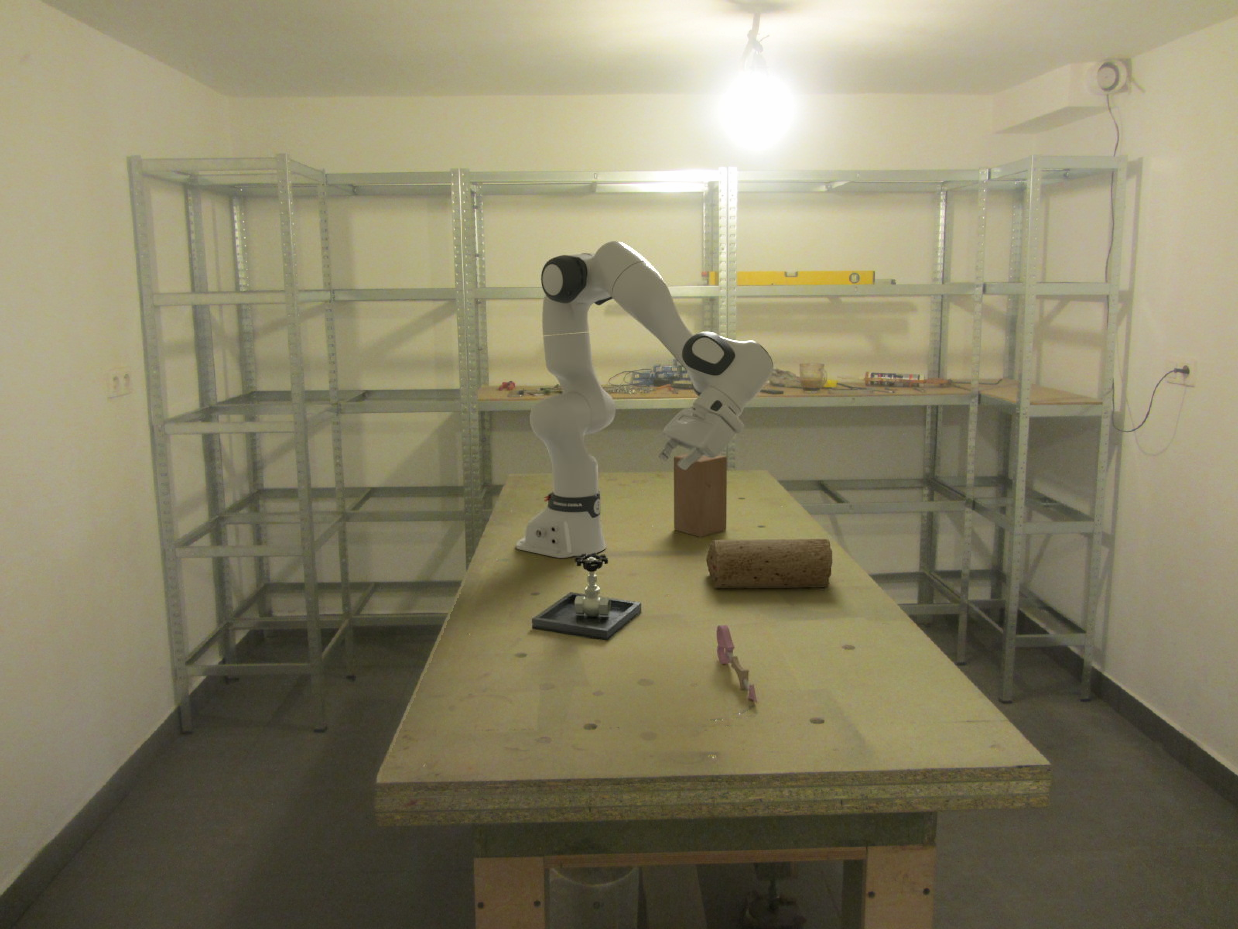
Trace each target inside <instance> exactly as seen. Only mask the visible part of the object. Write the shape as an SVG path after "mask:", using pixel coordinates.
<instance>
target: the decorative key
mask: <svg viewBox="0 0 1238 929" xmlns="http://www.w3.org/2000/svg"><path fill="white" fill-rule="evenodd" d="M716 627H717V628H716V641H717V646H716V647H717V648H716V654H717V658H718V661H719V663H720V664H721V665H727V664H731V668H732V669H733V670H734V671H735V673H736V676H737V679H738V681H739V683H738V684H739V690H740V691H743V690H747V691H748V696H747V697H748V700H752V701H754V702H755V703H756V704H759V703H758V699H757V694H756V690H755V688H756V687H755V684H750V683H749V676H750V674H749V673H750V670H749V669H748V668H747V669H746V668H743V666H742V665H741V663H740V661H739V657H738V655H735V656H734V654H733V653H734V649H735V645H734V641H733V639H732V635H731V631H730V628H729V626H728V625H727V624H720V625H717V626H716Z"/></svg>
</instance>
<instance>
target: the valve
mask: <svg viewBox="0 0 1238 929" xmlns="http://www.w3.org/2000/svg"><path fill="white" fill-rule="evenodd" d="M574 562H575V563H576V566H577V567H581V566H582V567H583V569H584V570H585V571H586V572H589V574H588V575H586V580H587V583H588V584H587V585H586V587H585V588H584V594H586V595H587V596H586V597H585V596H576V598H575V604H574V610H575V613H576V614H586V615H588V616H591V617H594V616H598V615H603V616H609V614H610V609H611V601H610V598H611V597H606V596H600V597H601V598H600V597H599V595H600V592H601V588H600V587H599V586H598V585H597V584H596V583H598V579H597V578H598V576H597V574H596V573H595V572H596V571H597V570H599V569H602V568H603V565H607V564H609V558H608V557H607V555H606V554H600V555H598V552H597V553H592V554H589V555H587V554H581V555H580V556H574Z"/></svg>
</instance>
